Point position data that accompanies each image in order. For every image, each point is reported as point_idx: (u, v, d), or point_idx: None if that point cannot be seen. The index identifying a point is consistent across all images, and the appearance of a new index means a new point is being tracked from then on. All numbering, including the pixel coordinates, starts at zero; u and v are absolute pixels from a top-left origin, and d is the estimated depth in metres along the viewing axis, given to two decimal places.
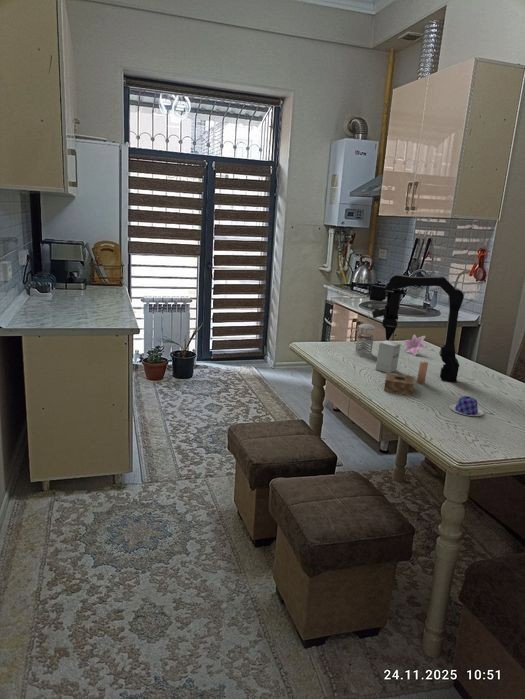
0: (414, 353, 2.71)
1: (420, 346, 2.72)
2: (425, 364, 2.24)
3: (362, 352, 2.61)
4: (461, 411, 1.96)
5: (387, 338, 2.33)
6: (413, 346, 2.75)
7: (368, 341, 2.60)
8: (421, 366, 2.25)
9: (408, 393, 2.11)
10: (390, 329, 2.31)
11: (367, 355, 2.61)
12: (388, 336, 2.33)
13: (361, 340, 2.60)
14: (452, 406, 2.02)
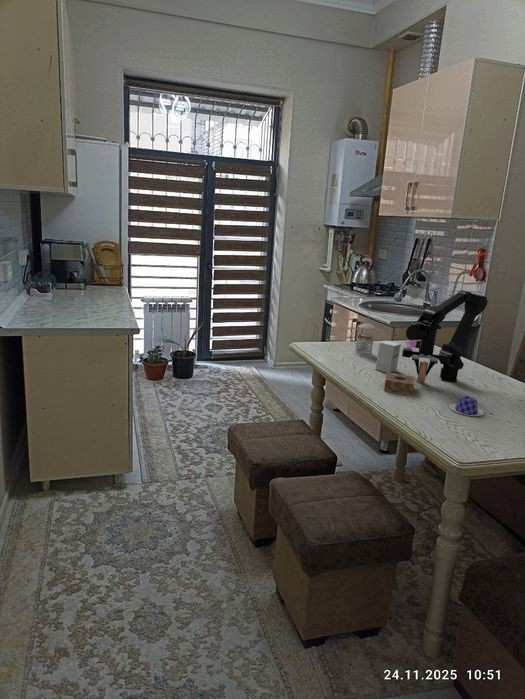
0: None
1: None
2: (425, 364, 2.24)
3: (362, 352, 2.61)
4: (462, 411, 1.96)
5: None
6: (413, 346, 2.75)
7: (368, 341, 2.60)
8: (421, 366, 2.25)
9: (408, 393, 2.11)
10: None
11: (367, 355, 2.61)
12: (416, 369, 2.27)
13: (361, 340, 2.60)
14: (452, 406, 2.01)
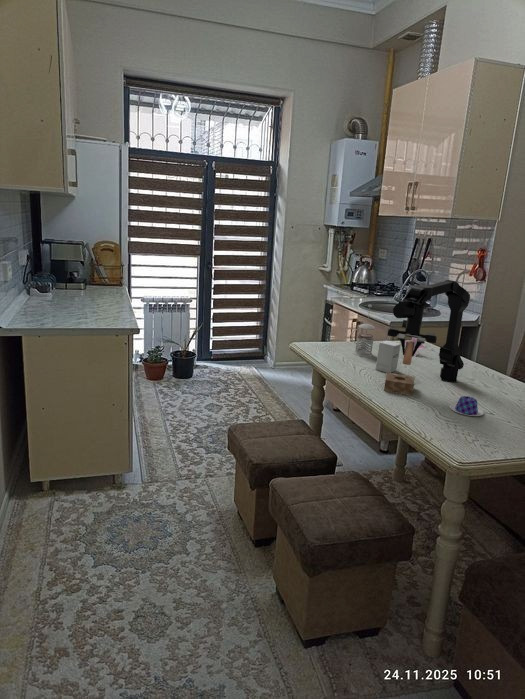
0: None
1: (420, 347, 2.71)
2: (411, 344, 2.13)
3: (362, 352, 2.61)
4: (463, 411, 1.96)
5: None
6: None
7: (368, 341, 2.60)
8: (407, 346, 2.14)
9: (408, 393, 2.11)
10: None
11: (367, 355, 2.61)
12: (402, 350, 2.16)
13: (361, 340, 2.60)
14: (452, 407, 2.01)
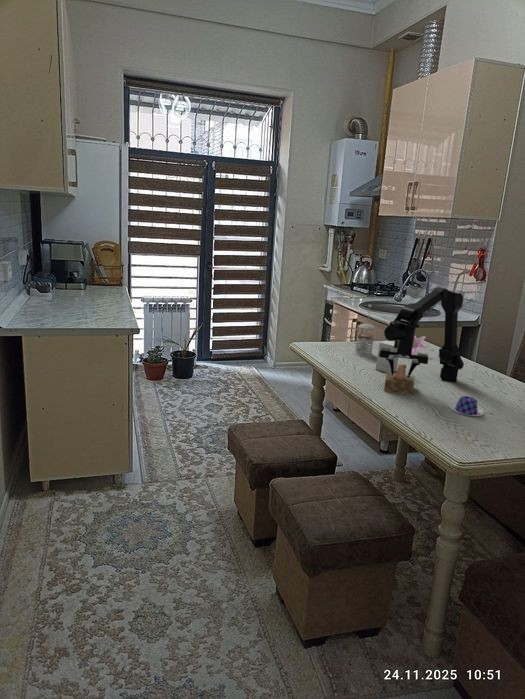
0: (414, 354, 2.70)
1: (420, 347, 2.71)
2: (403, 367, 2.13)
3: (362, 352, 2.61)
4: (463, 412, 1.96)
5: None
6: (413, 347, 2.74)
7: (368, 341, 2.60)
8: (399, 369, 2.14)
9: (408, 393, 2.11)
10: None
11: (367, 355, 2.61)
12: (391, 370, 2.16)
13: (361, 340, 2.60)
14: (452, 407, 2.01)
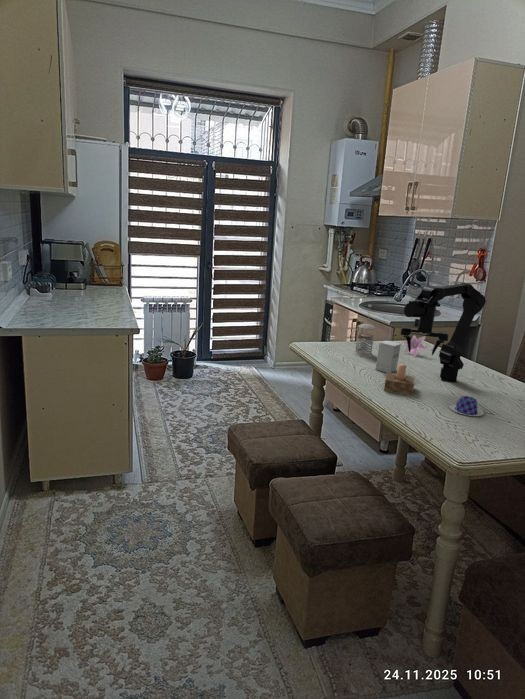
0: (414, 354, 2.69)
1: (420, 347, 2.70)
2: (403, 367, 2.13)
3: (362, 352, 2.61)
4: (464, 412, 1.95)
5: None
6: (413, 347, 2.74)
7: (368, 341, 2.60)
8: (399, 369, 2.14)
9: (408, 393, 2.11)
10: None
11: (367, 355, 2.61)
12: (408, 347, 2.25)
13: (361, 340, 2.60)
14: (452, 407, 2.00)
